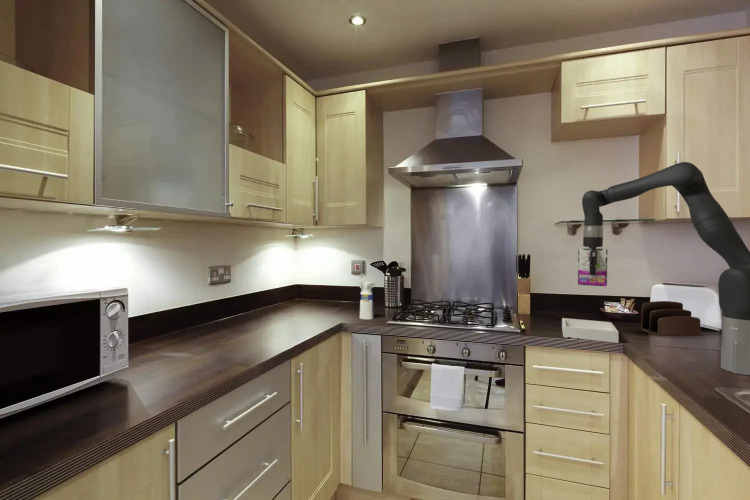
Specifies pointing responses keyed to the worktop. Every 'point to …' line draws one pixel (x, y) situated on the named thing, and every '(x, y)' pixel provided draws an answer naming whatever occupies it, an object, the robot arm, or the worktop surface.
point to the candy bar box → (584, 268)
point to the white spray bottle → (366, 299)
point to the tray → (589, 330)
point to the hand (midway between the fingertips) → (591, 274)
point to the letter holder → (668, 319)
